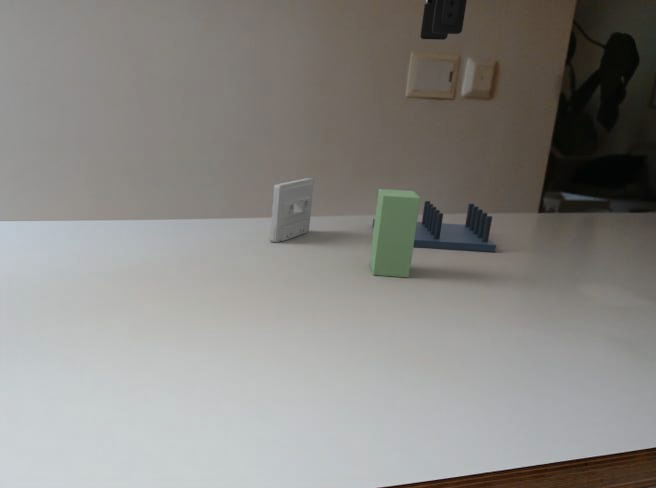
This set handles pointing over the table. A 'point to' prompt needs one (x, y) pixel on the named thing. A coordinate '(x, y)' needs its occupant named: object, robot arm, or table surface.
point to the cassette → (291, 209)
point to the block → (394, 232)
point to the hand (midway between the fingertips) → (439, 36)
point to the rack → (454, 231)
